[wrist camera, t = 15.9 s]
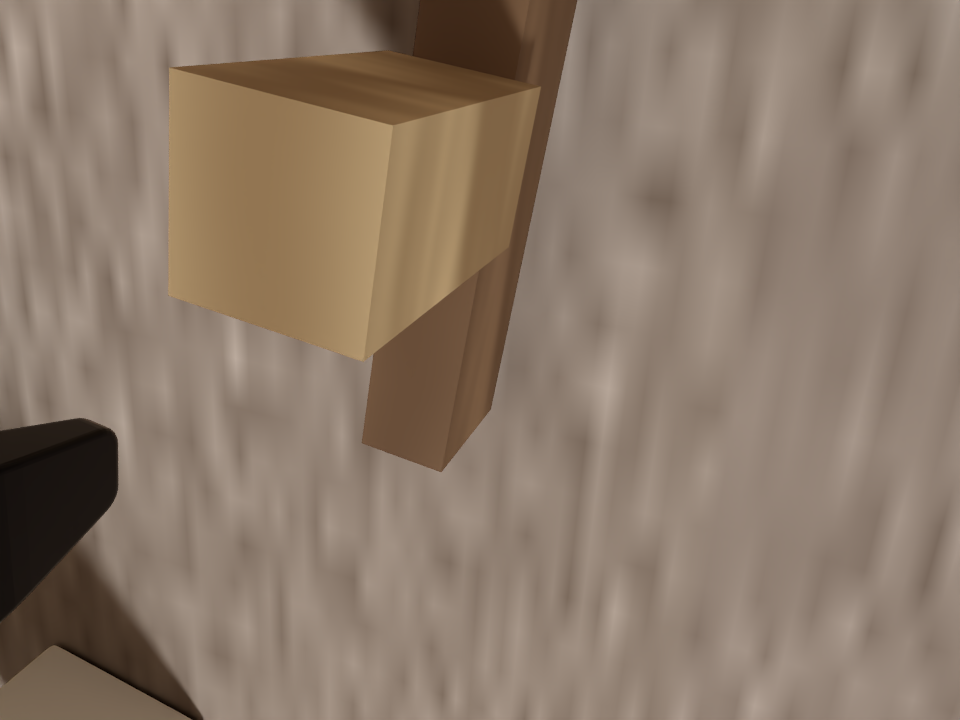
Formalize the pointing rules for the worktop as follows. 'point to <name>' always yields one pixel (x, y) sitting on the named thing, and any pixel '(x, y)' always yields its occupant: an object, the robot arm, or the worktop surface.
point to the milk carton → (75, 693)
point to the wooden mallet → (375, 204)
